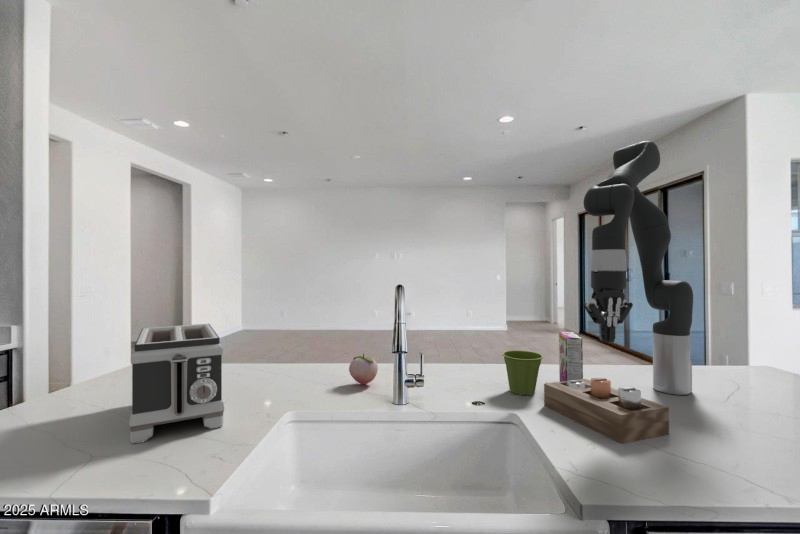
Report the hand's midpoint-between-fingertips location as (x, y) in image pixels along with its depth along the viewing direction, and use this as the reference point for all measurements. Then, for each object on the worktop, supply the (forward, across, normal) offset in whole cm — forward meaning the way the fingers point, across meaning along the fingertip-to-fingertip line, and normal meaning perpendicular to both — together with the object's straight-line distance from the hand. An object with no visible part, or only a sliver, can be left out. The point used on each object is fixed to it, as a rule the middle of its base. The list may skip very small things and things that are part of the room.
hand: (608, 341), depth 93 cm
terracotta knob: (+14, -1, -3) cm, 14 cm away
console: (+19, -1, -3) cm, 20 cm away
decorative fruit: (+20, +49, -48) cm, 72 cm away
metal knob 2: (+14, -1, +5) cm, 15 cm away
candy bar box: (+20, -12, -26) cm, 35 cm away
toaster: (+21, +99, -35) cm, 107 cm away
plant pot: (+20, +5, -27) cm, 34 cm away
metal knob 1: (+16, 0, -11) cm, 20 cm away
